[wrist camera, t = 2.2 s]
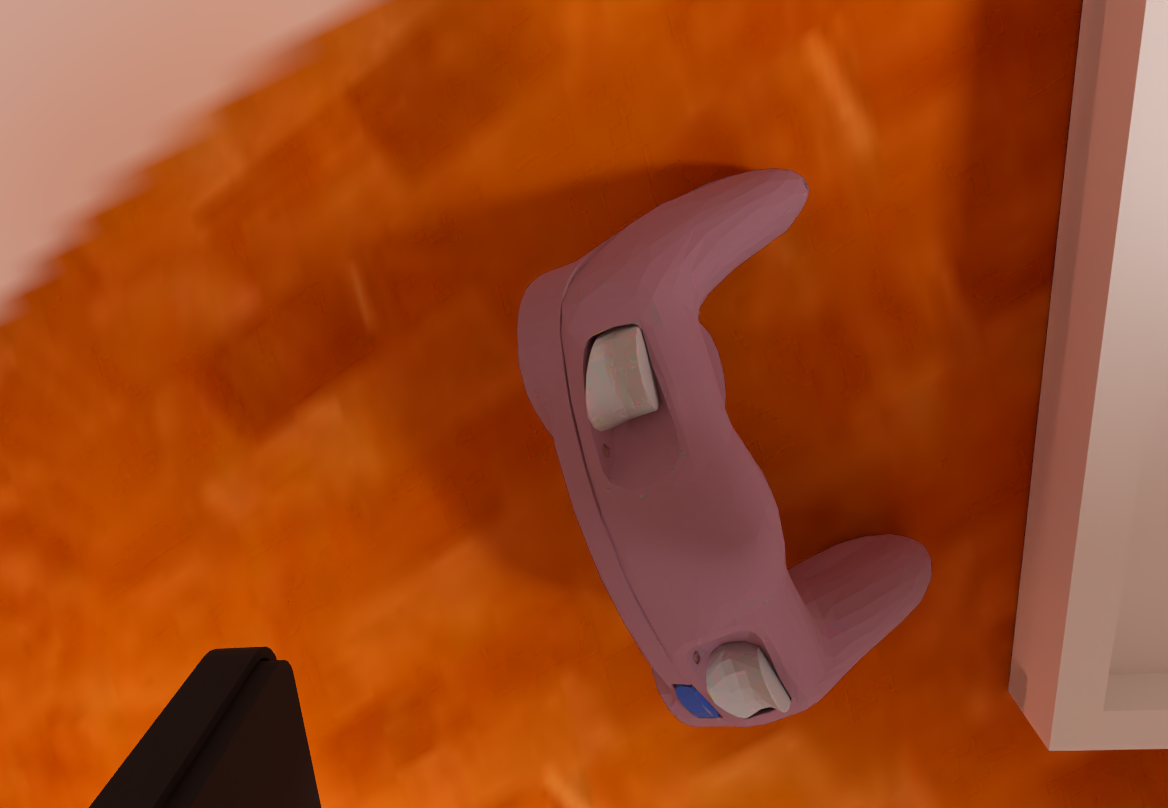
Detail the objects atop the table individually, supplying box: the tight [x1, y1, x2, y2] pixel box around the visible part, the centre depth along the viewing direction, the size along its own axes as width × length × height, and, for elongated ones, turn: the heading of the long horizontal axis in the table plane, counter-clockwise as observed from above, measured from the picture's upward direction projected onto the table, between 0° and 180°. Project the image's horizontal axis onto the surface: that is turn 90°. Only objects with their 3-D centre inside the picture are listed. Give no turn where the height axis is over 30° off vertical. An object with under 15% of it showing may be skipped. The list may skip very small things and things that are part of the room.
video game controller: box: [517, 168, 932, 727], centre depth 16 cm, size 10×5×7 cm, turn 23°
